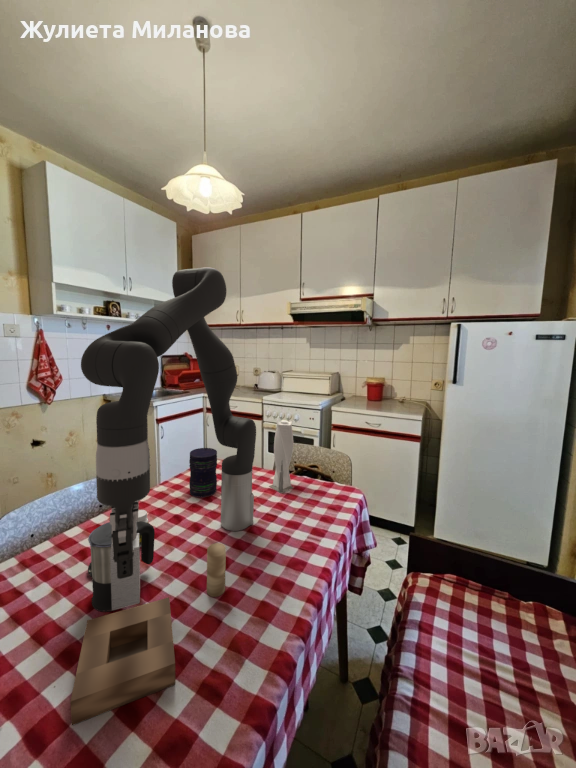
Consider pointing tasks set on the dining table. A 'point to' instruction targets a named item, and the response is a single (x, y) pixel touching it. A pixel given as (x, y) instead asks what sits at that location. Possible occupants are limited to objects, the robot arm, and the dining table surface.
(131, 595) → the square peg
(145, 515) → the supplement bottle
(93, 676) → the bore block
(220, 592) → the round dowel
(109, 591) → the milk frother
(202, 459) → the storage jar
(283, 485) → the skyscraper
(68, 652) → the dining table surface
